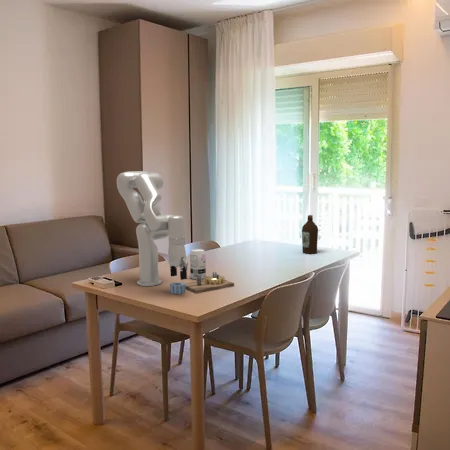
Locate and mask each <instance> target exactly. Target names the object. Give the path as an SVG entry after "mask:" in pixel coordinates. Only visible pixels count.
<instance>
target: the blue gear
mask: <svg viewBox="0 0 450 450" xmlns="http://www.w3.org/2000/svg"><path fill="white" fill-rule="evenodd" d="M185 283H186V282H181V281H179V282H177V281H175V282H171V283H169V293H170V294H172V295H181V294H185V293H186V289H185Z"/></svg>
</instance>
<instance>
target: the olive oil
mask: <svg viewBox="0 0 450 450" xmlns="http://www.w3.org/2000/svg"><path fill="white" fill-rule="evenodd" d="M313 219H314V217H313V214H308V215H307V221H306V222H305V223H304V224H303V226H302V228H301V240H302V241H301V246H302V247H301V248H302V250H301V251H302V254H304V253H305V254H306V255H315V254H317V253H318V238H319V228H318V225H317V224H316V223H315V222H314V220H313Z"/></svg>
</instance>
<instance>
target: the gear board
mask: <svg viewBox="0 0 450 450" xmlns="http://www.w3.org/2000/svg"><path fill="white" fill-rule="evenodd" d="M184 283H185V290H187V291H190V292H192V293H194V294H200V293H201V294H202V293H205V292H210V291H216V290H221V289H227V288H232V287H235V282H232V281H230V280H227V279H225V282H224V283H223V284H220V285H219V284H217V285H209V284H206V283H205V279H201V275H197V279H196V281H191V282H184ZM226 287H227V288H226Z"/></svg>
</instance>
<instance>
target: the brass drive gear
mask: <svg viewBox="0 0 450 450" xmlns="http://www.w3.org/2000/svg"><path fill="white" fill-rule="evenodd" d="M204 280H205V283H206V284H209V285H217V284H219V285H220V284H223V283H224V282H225V280H226V279H225V276H224V275H219V274H218V273H217V272H216V271H214V272H212V275H206V277H205V278H204Z"/></svg>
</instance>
